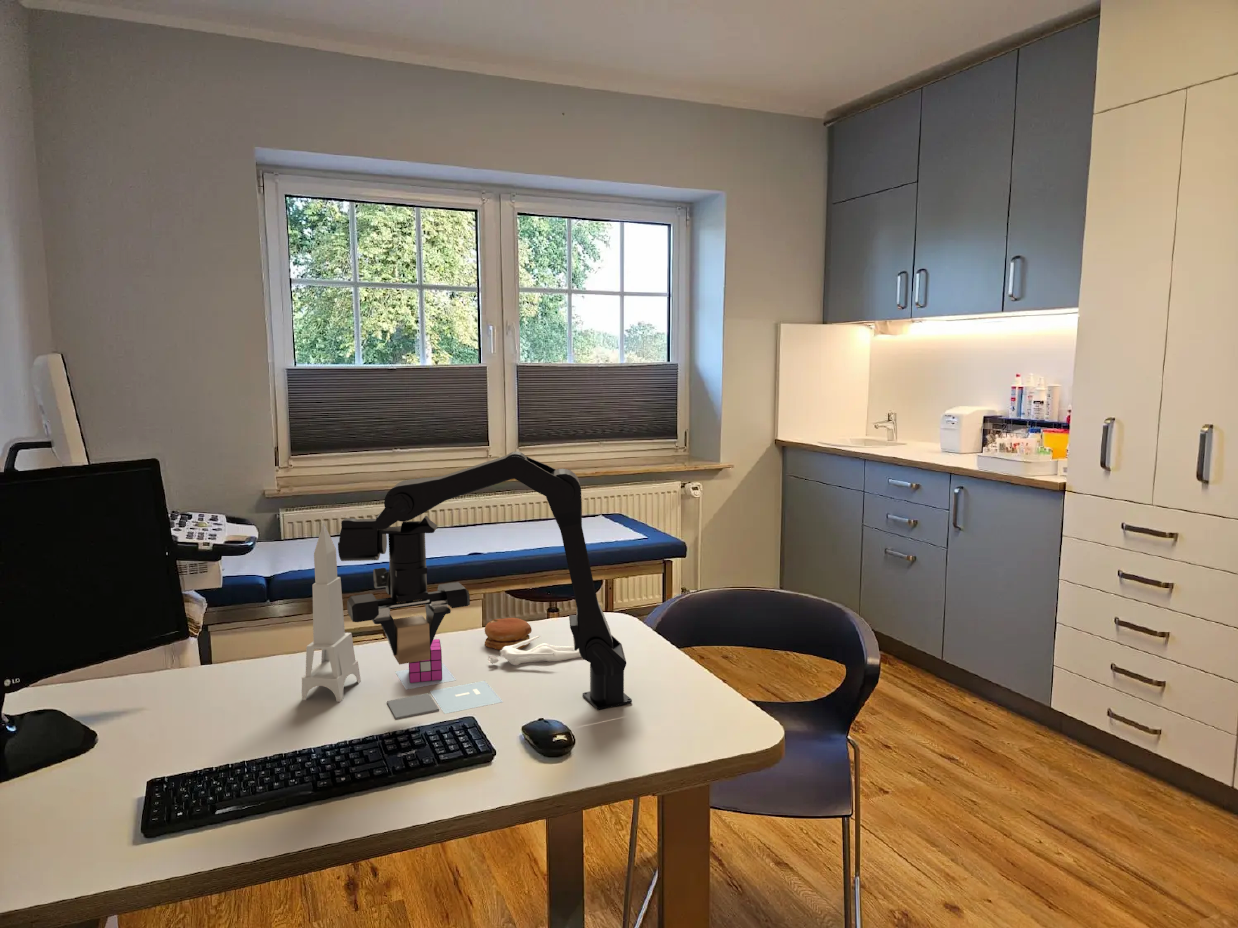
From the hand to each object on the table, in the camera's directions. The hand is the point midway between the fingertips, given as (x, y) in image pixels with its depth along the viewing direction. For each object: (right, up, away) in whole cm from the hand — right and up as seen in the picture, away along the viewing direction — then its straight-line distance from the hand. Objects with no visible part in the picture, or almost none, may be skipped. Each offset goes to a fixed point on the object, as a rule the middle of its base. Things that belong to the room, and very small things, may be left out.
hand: (411, 651), depth 133 cm
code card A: (+8, -9, +5) cm, 13 cm away
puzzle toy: (-1, -8, +14) cm, 16 cm away
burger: (+11, -6, +31) cm, 34 cm away
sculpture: (-16, -9, +8) cm, 20 cm away
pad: (0, -10, +1) cm, 10 cm away
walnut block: (0, -1, 0) cm, 1 cm away
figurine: (+21, -7, +23) cm, 32 cm away
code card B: (-1, -8, +14) cm, 16 cm away
